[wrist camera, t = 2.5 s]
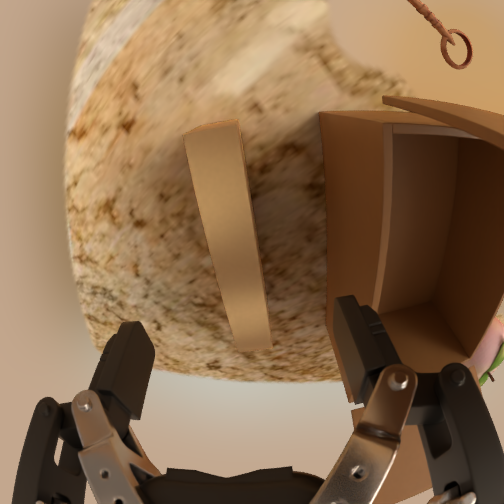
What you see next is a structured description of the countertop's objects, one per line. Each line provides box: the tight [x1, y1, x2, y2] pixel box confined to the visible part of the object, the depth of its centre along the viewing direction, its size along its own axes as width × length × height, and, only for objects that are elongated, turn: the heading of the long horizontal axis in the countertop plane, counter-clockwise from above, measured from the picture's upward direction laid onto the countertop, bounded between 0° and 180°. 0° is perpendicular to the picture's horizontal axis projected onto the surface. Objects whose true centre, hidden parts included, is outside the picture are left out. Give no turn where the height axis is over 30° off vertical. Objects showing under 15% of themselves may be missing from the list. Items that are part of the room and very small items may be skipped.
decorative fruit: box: [463, 317, 504, 387], centre depth 21 cm, size 9×8×10 cm
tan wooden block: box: [183, 119, 273, 352], centre depth 16 cm, size 14×2×5 cm, turn 8°
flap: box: [351, 365, 482, 504], centre depth 13 cm, size 9×12×1 cm
